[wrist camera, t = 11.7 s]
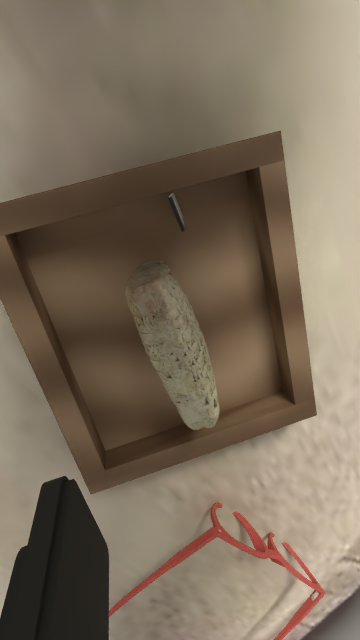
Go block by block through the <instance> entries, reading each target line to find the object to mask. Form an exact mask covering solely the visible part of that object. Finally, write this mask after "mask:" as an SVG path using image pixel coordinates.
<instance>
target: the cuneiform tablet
mask: <svg viewBox="0 0 360 640" xmlns="http://www.w3.org/2000/svg"><path fill="white" fill-rule="evenodd" d="M168 200H169V202H170V205H171V207H172V209H173V212H174V214H175V217H176V219H177V222H178V224H179V227H180V229H181V231H182V232H183V231H185V227H184V220H183V214H182V212H181V209H180V207H179V204H178V202H177V199H176V197H175V194H174V192H173V193H171V194H170V196H169V197H168ZM124 291H125V294H126V298H127V301H128V308H129V310H130V312H131V314H132V315H133V318H134V321H135V324H136V327H137V329H138V332H139V335H140V337H141V340H142V343H143V345H144V347H145V351H146V353H147V355H148V356H149V358H150V362H151V363H152V365H153V367H154V368H155V369H156V371H157V374H158V376H159V378H160V380H161V382H162V383H163V386H164V388H165V390H166V391H167V393H168V394H169V396H170V398H171V400H172V401H173V403H174V405H175V407H176V409H177V411H178V413H179V415H180V417H181V418H182V420H183V421H184V423H185V424H186V425H187V426H188V427H189V428H191V429H192V430H199V429H201V428H212V427H214V426H215V424H216V422H217V420H218V417H219V413H220V407H219V402H218V391H217V387H216V380H215V372H214V370H213V368H212V365H211V361H210V358H209V352H208V348H207V346H206V342H205V339H204V335H203V333H202V331H201V329H200V327H199V323H198V320H197V318H196V317H195V315H194V312H193V308H192V306H191V304H190V302H189V301H188V298H187V295H186V294H185V292H184V291H183V289H182V288H181V287H180V286H179V283H178V282H177V279H176V278H175V276H174V275H173V274H172V273H171V272H170V269H169V267H168V265H167V264H165V263H164V262H163V261H162V260H156V261H155V260H150V261H147V262H145V263H143V264H141V265H140V266H139V267H138V268H137V269H136V270H135V271H134V272H133V273H132V274H131V276H130V277H129V279H128V280H127V282H126V284H125V288H124Z"/></svg>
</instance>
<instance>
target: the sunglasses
mask: <svg viewBox="0 0 360 640" xmlns="http://www.w3.org/2000/svg"><path fill="white" fill-rule="evenodd" d="M216 508H222V504H219V503H215V504H214V505H213V507H212V509H211V519H212V523H213V526H214V527H212V528H210V529H209V530H208V531H207V532H205V533H204V534H203V535H201V536H200V537H199V538H197V539H196V540H194V541H193V542H192V543H190V544H189V545H188V546H186V547H185V548H183V549H182V550H181V551H179V552H178V553H177V554H176V555H174V556H173V557H172V558H171V559H170V560H169V561H168V562H166V563H165V564H164V565H163V566H162V567H161V568H159V569H158V570H157V571H156V572H154V573H153V574H152V575H151V576H149V577H148V578H147V579H146V580H144V581H143V582H142V583H141V584H139V585H138V586H137V587H136V588H134V589H133V590H132V591H131V592H130V593H128V594H127V595H126V596H125V597H124V598H122V599H121V600H120V601H119V602H118V603H117V604H116V605H115V606H114V607H113V608H112V609H111V610H110V611H109V616H110V615H112V614H113V613H114V612H115V611H116V610H118V609H119V608H120V607H121V606H122V605H124V604H125V603H126V602H127V601H128V600H130V599H131V598H132V597H133V596H135V595H136V594H137V593H139V592H140V591H141V590H142V589H144V588H145V587H146V586H148V585H149V584H150V583H152V582H153V581H154V580H155V579H157V578H158V577H159V576H161V575H162V574H163V573H165V572H166V571H168V570H169V569H171V568H172V567H174V566H176V565H177V564H179V563H180V562H181V561H183V560H184V559H186V558H187V557H189V556H190V555H191V554H193V553H194V552H196V551H197V550H198V549H200V548H201V547H203V546H204V545H205V544H207V543H208V542H210V541H211V540H213V539H214V538H216V537H219V538H221V539H223V540H224V541H226V542H228V543H230V544H231V545H233V546H235V547H237V548H239V549H241V550H243V551H245V552H247V553H249V554H251V555H254V556H256V557H259V558H262V559H266V558H270V559H271V560H272V561H273V562H275V563H277V564H279V565H282V566H283V567H285V568H286V569H287V570H289V571H290V572H291V573H292V574H293V575H295V576H296V577H297V578H298V579H300V580H301V581H302V582H304V583H305V584H307V585H308V586H310V587H311V588H313V589H315V590H314V592H313V593H312V594H311V596H310V597H309V598H308V599H307V600H306V602H305V603H304V604H303V605H302V606H301V608H300V609H299V610H298V611H297V612H296V613H295V615H294V616H293V618H292V619H291V620H290V622H289V623H288V624H287V625H286V627H285V628H284V629H283V630H282V631H281V632H280V633H279V634H278V636H277V637H276V638H275V639H274V640H282V639H283V638H284V637H285V636H286V635H287V634H288V633H289V632H290V631H291V630H292V629H293V628H294V627H295V626H296V625H297V624H298V623H299V622H300V621H301V620H302V619H303V618H304V617H305V616H306V615H307V614H308V613H309V612H310V610H311V609H312V608H313V607H314V606H315V605H316V604H317V603H318V601H319V600H320V599H321V598H322V597H323V596H324V594H325V591H324V590H323V589H322V587H321V586H320V585H319V583H318V582H317V581H316V579H315V578H314V577H313V575H312V574H311V573H310V571H309V570H308V569H307V567H306V566H305V565H304V563H303V562H302V561H301V559H300V558H299V557H298V556H297V554H296V553H295V552H294V551H293V550H292V549H291V547H290V546H289V545H288V544H287V543H285V542H284V543H282V544H283V545H284V546H285V547H286V548H287V550H288V551H289V552H290V553H291V554H292V555H293V557H294V558H295V559H296V560H297V562H298V563H299V564H300V565H301V567H302V568H303V569H304V571H305V572H306V574H307V575H308V576H309V578H310V579H311V581H312V582H311V581H309V580H308V579H307V578H305V577H304V576H302V575H301V574H300V573H299V572H297V571H296V570H295V569H294V568H293V567H292V566H291V565H290V564H289V563H288V562H287V561H286V560H285V559H284V558H283V557H282V555H281V554H280V553H279V551H278V550H277V548H276V547H275V545H274V543H273V540H272V537H274V534H273V533H270V535H269V538H268V548H267V546H266V544H265V543H264V541H263V540H262V539H261V537H260V536H259V535H258V533H257V532H256V531H255V530H254V528H253V527H252V526H251V525H250V524H249V523H248V522H247V520H246V519H245V518H244V517H243V516H242V515H240V514H239V513H237V512H234V513H233V514H234V515H235V516H236V517H237V518H238V519H239V520H240V522H241V523H242V524H243V526H244V527H245V529H246V531H247V533H248V534H249V536H250V538H251V540H252V543H253V545H254V547H255V549H256V550H254V549H252V548H250V547H248V546H246V545H244V544H242V543H240V542H239V541H237V540H235V539H234V538H233V537H231V536H230V535H229V534H228V533H227V532H226V531H225V530H224V529H223V528H222V526H221V525H220V523H219V522H218V520H217V517H216V513H215V509H216Z"/></svg>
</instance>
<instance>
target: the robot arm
mask: <svg viewBox="0 0 360 640" xmlns="http://www.w3.org/2000/svg"><path fill="white" fill-rule="evenodd" d="M0 640H109V554H108V548H107V544H106V542H105V540H104V538H103V536H102V534H101V532H100V529H99V527H98V525H97V523H96V521H95V519H94V517H93V515H92V513H91V511H90V509H89V507H88V505H87V503H86V501H85V499H84V497H83V495H82V493H81V491H80V489H79V487H78V485H77V483H76V481H75V480H74V479H72V480H68V478H67V477H66V476H63V477H60V478H57V479H54V480H51V481H48V482H45V483H43V485H42V487H41V490H40V495H39V499H38V503H37V507H36V511H35V516H34V520H33V524H32V528H31V532H30V536H29V541H28V545H27V546H24V547H22V548H21V549H20V551H19V552H18V554H17V557H16V560H15V564H14V568H13V571H12V575H11V579H10V583H9V587H8V590H7V594H6V598H5V602H4V606H3V610H2V613H1V617H0Z"/></svg>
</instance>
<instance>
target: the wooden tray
mask: <svg viewBox="0 0 360 640" xmlns="http://www.w3.org/2000/svg"><path fill="white" fill-rule="evenodd" d="M173 192H174V194H175V197H176V199H177V202H178V204H179V207H180V209H181V212H182V214H183V220H184V227H185V231H183V232H182V231H181V229H180V227H179V224H178V222H177V219H176V217H175V214H174V212H173V209H172V207H171V205H170V202H169V200H168V197H169V196H170V194H171V193H173ZM150 260H155V261H156V260H162V261H163V262H164V263H165V264H167V265H168V267H169V269H170V272H171V273H172V274H173V275H174V276H175V278H176V279H177V282H178V283H179V286H180V287H181V288H182V289H183V291H184V292H185V294H186V295H187V298H188V301H189V302H190V304H191V306H192V308H193V312H194V315H195V317H196V318H197V320H198V323H199V327H200V329H201V331H202V333H203V335H204V339H205V342H206V346H207V348H208V352H209V358H210V361H211V365H212V368H213V370H214V372H215V380H216V387H217V391H218V402H219V407H220V413H219V417H218V420H217V422H216V424H215V426H214V427H212V428H201V429H199V430H192V429H191V428H189V427H188V426H187V425H186V424H185V423H184V421H183V420H182V418H181V417H180V415H179V413H178V411H177V409H176V407H175V405H174V403H173V401H172V400H171V398H170V396H169V394H168V393H167V391H166V390H165V388H164V386H163V383H162V382H161V380H160V378H159V376H158V374H157V371H156V369H155V368H154V367H153V365H152V363H151V362H150V358H149V356H148V355H147V353H146V351H145V347H144V345H143V343H142V340H141V337H140V335H139V332H138V329H137V327H136V324H135V321H134V318H133V315H132V314H131V312H130V310H129V308H128V301H127V298H126V294H125V291H124V288H125V284H126V282H127V280H128V279H129V277H130V276H131V274H132V273H133V272H134V271H135V270H136V269H137V268H138V267H139V266H140V265H141V264H143V263H145V262H147V261H150ZM0 299H1V301H2V303H3V305H4V307H5V310H6V312H7V314H8V316H9V318H10V320H11V323H12V325H13V327H14V329H15V331H16V333H17V336H18V338H19V340H20V342H21V344H22V346H23V349H24V351H25V353H26V355H27V357H28V359H29V362H30V364H31V366H32V368H33V370H34V372H35V375H36V377H37V379H38V381H39V383H40V385H41V388H42V390H43V392H44V394H45V396H46V398H47V401H48V403H49V405H50V407H51V409H52V411H53V414H54V416H55V418H56V420H57V422H58V424H59V427H60V429H61V431H62V433H63V435H64V437H65V440H66V442H67V444H68V446H69V448H70V450H71V453H72V455H73V457H74V459H75V461H76V463H77V466H78V468H79V470H80V472H81V474H82V476H83V479H84V481H85V483H86V485H87V487H88V489H89V492H90V494H93V493H96V492H99V491H102V490H105V489H107V488H110V487H113V486H116V485H119V484H122V483H125V482H127V481H130V480H133V479H136V478H139V477H142V476H144V475H147V474H150V473H153V472H156V471H159V470H162V469H164V468H167V467H170V466H173V465H176V464H179V463H182V462H184V461H187V460H190V459H193V458H196V457H199V456H202V455H204V454H207V453H210V452H213V451H216V450H219V449H221V448H224V447H227V446H230V445H233V444H236V443H239V442H241V441H244V440H247V439H250V438H253V437H256V436H259V435H261V434H264V433H267V432H270V431H273V430H276V429H279V428H281V427H284V426H287V425H290V424H293V423H296V422H298V421H301V420H304V419H307V418H310V417H313V416H316V415H317V413H316V405H315V398H314V390H313V382H312V374H311V366H310V358H309V350H308V342H307V335H306V327H305V319H304V311H303V303H302V295H301V287H300V280H299V272H298V264H297V256H296V248H295V240H294V232H293V225H292V217H291V209H290V201H289V193H288V185H287V177H286V170H285V162H284V154H283V146H282V138H281V131H277V132H273V133H269V134H266V135H262V136H258V137H254V138H250V139H246V140H242V141H239V142H235V143H231V144H227V145H223V146H219V147H215V148H211V149H208V150H204V151H200V152H196V153H192V154H188V155H184V156H181V157H177V158H173V159H169V160H165V161H161V162H157V163H154V164H150V165H146V166H142V167H138V168H134V169H130V170H126V171H123V172H119V173H115V174H111V175H107V176H103V177H99V178H96V179H92V180H88V181H84V182H80V183H76V184H72V185H68V186H65V187H61V188H57V189H53V190H49V191H45V192H41V193H38V194H34V195H30V196H26V197H22V198H18V199H14V200H10V201H7V202H3V203H0Z"/></svg>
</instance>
